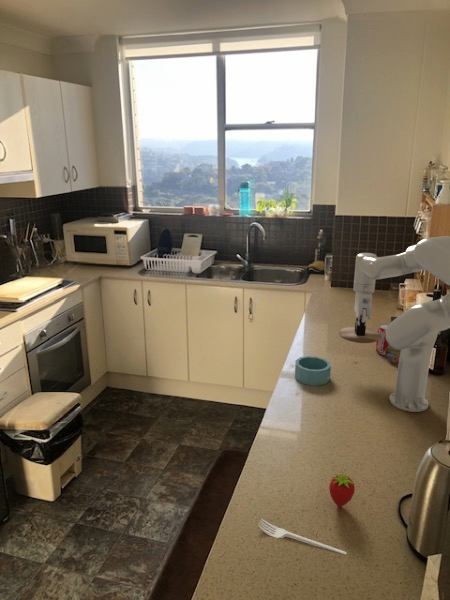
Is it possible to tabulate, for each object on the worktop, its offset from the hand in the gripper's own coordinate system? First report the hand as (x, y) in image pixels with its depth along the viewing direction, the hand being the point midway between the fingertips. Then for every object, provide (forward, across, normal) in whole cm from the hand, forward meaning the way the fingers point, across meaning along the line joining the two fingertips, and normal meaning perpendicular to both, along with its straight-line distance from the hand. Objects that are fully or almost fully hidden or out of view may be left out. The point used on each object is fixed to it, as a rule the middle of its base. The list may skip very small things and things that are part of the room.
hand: (359, 333), depth 181 cm
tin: (+17, +12, -21) cm, 30 cm away
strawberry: (+18, -75, +14) cm, 78 cm away
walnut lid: (+2, 0, 0) cm, 2 cm away
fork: (+18, -86, +24) cm, 92 cm away
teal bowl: (+17, -6, +17) cm, 25 cm away
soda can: (+17, +22, -15) cm, 32 cm away
